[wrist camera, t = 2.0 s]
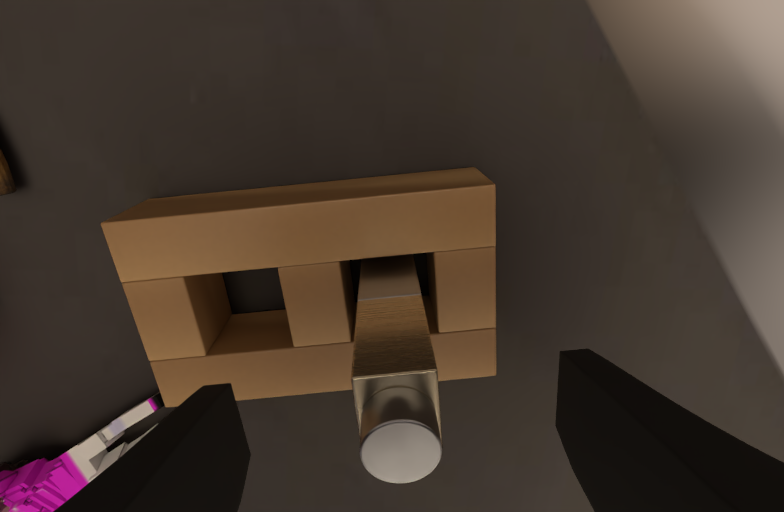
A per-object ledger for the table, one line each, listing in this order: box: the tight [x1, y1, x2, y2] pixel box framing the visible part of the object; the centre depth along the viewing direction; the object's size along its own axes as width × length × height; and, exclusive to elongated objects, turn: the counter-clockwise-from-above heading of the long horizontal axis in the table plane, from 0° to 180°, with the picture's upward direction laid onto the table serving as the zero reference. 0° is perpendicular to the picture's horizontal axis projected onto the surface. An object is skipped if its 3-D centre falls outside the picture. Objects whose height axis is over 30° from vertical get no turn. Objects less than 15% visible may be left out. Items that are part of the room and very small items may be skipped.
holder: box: [101, 167, 496, 407], centre depth 16 cm, size 7×12×3 cm, turn 95°
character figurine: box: [0, 392, 165, 512], centre depth 18 cm, size 6×5×12 cm
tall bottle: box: [351, 254, 443, 483], centre depth 13 cm, size 2×2×10 cm
